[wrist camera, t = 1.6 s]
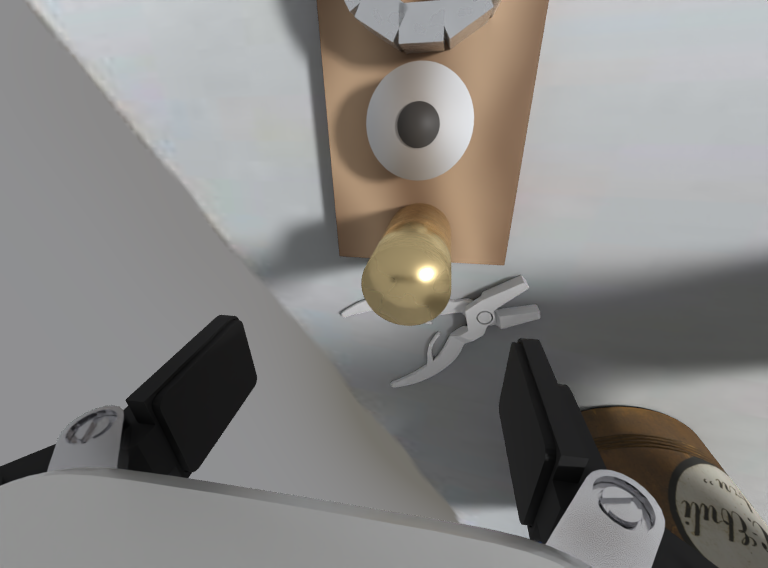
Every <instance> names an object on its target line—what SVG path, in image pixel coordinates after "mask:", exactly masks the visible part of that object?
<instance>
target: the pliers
mask: <svg viewBox="0 0 768 568" xmlns="http://www.w3.org/2000/svg"><path fill="white" fill-rule="evenodd" d="M527 289H529V286H528V284H527V281H526V280H525V279H524V277H523V276H522V275H520V276H518V277H515V278H513V279H511V280H508V281H506V282H504V283H501V284H499V285H497V286H495V287H492V288H490V289H488V290H485V291H483V293H482V295H481V296H480V297H479V298H477V299H476V300H471V299H469V298H465V299H459V300H450V299H449V302H448V304H447V306H446V307H445V309H444V310H443V311H442V312H441V314H440V315H445V314H453V313H460V312H461V313H462V314H463V315H464V316H465V317H466V320H467V326H461V327H460V328H458V329H457V330H455V331H453V332H452V333H451V334H450V336H449V337H448V339H447V341H446V343H445V345H444V347H443V348H442V350H441V351H440V353H439V354H438V355H437V356H436V357H435V358H434V359H433V356H432V352H431V351H432V347H433V345H434V343H435V341H436V340H437V339H438V337H439V336H440V332H437V333H436V334H435V335H434V337H433V338H432V340H431V341H430V343H429V346H428V351H427V359H428V361H427V364H426V365H424V366H423V367H421V368H419V369H418V370H416V371H414V372H412V373H410V374H408V375H406V376H404V377H402V378H400V379H397V380H395V381H392V382H391V384H390V385H391V386H392V388H396V387H403V386H407V385H412V384H415V383H418V382H421V381H423V380H426V379H428V378H430V377H432V376H434V375H436V374H437V373H439V372H440V371H442V370H443V369H445V368H446V367H447V366H449V365H450V364H451V363H452V362H453V361H454V360H455V359H456V358H457V356H458V355H459V354H460V352H461V350H462V348H463V346H464V344H465V343H469V342H472V341H474V340H476V339H478V338H479V337H481V336H483V335H484V333H485V331H486V328H487V326H490V325H497V326H498V327H499V328H500V329H504V328H508V327H512V326H515V325H519V324H522V323H526V322H530V321H533V320H537V319H540V311H539V309H538V306H537V304H533V305H525V306H517V307H509V308H501V309H497V308H499V307H500V306H502V305H504V304H505V303H507V302H508V301H510V300H511V299H513V298H515V297H516V296H518V295H519V294H521V293H523V292H524V291H526V290H527ZM367 311H372V309H371V308H370V306H369V305H368V303H367V302H366V300H365V299H364V300H362V301H359V302H357V303H355V304H354V305H352V306H350V307H348V308H347V309H345V310H344V311H342V313H341V315H342V316H343V317H344V318H345V317H349V316H352V315H355V314H359V313H363V312H367ZM432 321H433V320H431V321H429V322H427V323H424V324H432Z"/></svg>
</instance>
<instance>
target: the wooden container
mask: <svg viewBox="0 0 768 568" xmlns="http://www.w3.org/2000/svg"><path fill="white" fill-rule="evenodd" d="M581 414H582V416H583V418H584V420H585V422H586V425H587V427H588V429H589V431H590V433H591V435H592V438H593V440H594V442H595V444H596V446H597V449H598V451H599V453H600V455H601V457H602V459H603V462H604V464H605V466H606V468H607V470H612V471H615V472H618V473H622V474H624V475H625V476H627V477H629V478H631V479H633V480H635V481H636V482H637V483H638V484H640V485H641V486H642V487H644V488H645V489H646V490H647V491H648V492H649V493H650V494H651V496H652V497H653V498H654V499H655V500H656V502H657V504H658V505H659V507H660V508H661V510H662V513H663V516H664V519H665V528H667V529H668V530H669V531H671V532H672V533H673V534H675V535H676V536H677V537H679V538H680V539H681V540H683V541H684V542H685V543H687V544H688V545H689V546H691V547H692V548H693V549H695V550H696V551H697V552H699V553H700V554H701V555H703V556H704V557H705V558H707V559H708V560H709V561H711V562H712V563H713V564H715V565H716V566H717V567H719V568H768V526H767V525H766V523H765V522H764V521H763V519H762V518H761V517H760V515H759V514H758V513H757V512H756V510H755V509H754V508H753V506H752V505H751V504H750V503H749V501H748V500H747V499H746V498H745V496H744V495H743V494H742V492H741V491H740V490H739V489H738V487H737V486H736V485H735V483H734V482H733V481H732V480H731V478H730V477H729V476H728V475H727V474H726V472H725V471H724V470H723V468H722V467H721V466H720V464H719V463H718V462H717V460H716V459H715V458H714V457H713V455H712V454H711V453H710V451H709V450H708V449H707V447H706V446H705V445H704V444H703V442H702V441H701V440H700V438H699V437H698V436H697V435H696V434H695V433H694V432H693V431H692V430H691V429H690V428H689V427H687V426H686V425H685V424H683V423H681V422H680V421H678V420H676V419H674V418H672V417H670V416H668V415H665V414H662V413H659V412H655V411H652V410H647V409H642V408H635V407H604V408H596V409H590V410H586V411H582V412H581Z"/></svg>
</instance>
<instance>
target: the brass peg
mask: <svg viewBox="0 0 768 568" xmlns="http://www.w3.org/2000/svg"><path fill="white" fill-rule="evenodd" d="M361 286H362V292H363V295H364V298H365V300H366V302H367V303H368V305H369V306H370V308H371V309H372V310H373V311H374V312H375V313H376V314H377V315H379V316H380V317H382V318H383V319H385V320H387V321H389V322H392V323H395V324H398V325H405V326H413V325H420V324H423V323H427V322H429V321H431V320H433V319H434V318H436V317H437V316H438V315H440V314H441V312H442V311H443V310H444V309H445V307H446V306H447V304H448V302H449V299H450V295H451V227H450V224H449V221H448V219H447V218H446V216H445V215H444V214H443V213H442V212H441V211H440V210H439V209H437V208H436V207H434V206H432V205H429V204H424V203H415V204H410V205H407V206H405V207H403V208H402V209H400V210H399V211H398V212H397V213H396V214H395V215H394V217H393V218H392V220H391V222H390V223H389V225H388V227H387V229H386V231H385V232H384V234H383V236H382V238H381V240H380V242H379V243H378V245H377V247H376V249H375V251H374V252H373V254H372V256H371V258H370V260H369V261H368V263H367V265H366V267H365V269H364V272H363V275H362V283H361Z"/></svg>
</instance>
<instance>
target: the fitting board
mask: <svg viewBox="0 0 768 568" xmlns="http://www.w3.org/2000/svg"><path fill="white" fill-rule="evenodd" d="M401 1H402V2H404V3H410V2H423V1H435V0H401ZM548 2H549V0H502V1H501V3H500V4H499V6H498V8H497V10H496V11H495V13H494V15H493V17H491V16H490V18H489V20H488V22H487V24H485V25H484V26H482V27H481V28H480V29H478V30H477V31H475V32H474V33H473V34H471V35H470V36H468V37H467V38H466V39H464V40H463V41H461V42H460V43H459V44H457V45H456V46H454V47H453V48H452V49H450V48H449V46H448V44H447V41H446V39H445V52H427V53H408V54H406V53H405V51H404V50H403V49H402V51H401V52H400V51H399V50H397V49H396V48H394V47H393V46H391V45H389V44H388V43H386V42H385V41H383V40H382V39H380V38H379V37H377V36H376V35H374V34H373V33H371V32H370V31H368V30H367V29H366V28H365V27H364V26H363V25H362V24H361V23H360V22H359V21H358V20H357V19H356V18H355V16H354V15H353V14H352V13H351V12H350V11H349V9H348V7H347V5H346V3H345V1H344V0H317V10H318V21H319V32H320V43H321V54H322V66H323V77H324V88H325V99H326V110H327V121H328V133H329V144H330V155H331V166H332V177H333V188H334V199H335V211H336V222H337V233H338V244H339V255H340V256H344V257H362V258H371V256H372V254H373V252H374V251H375V249H376V247H377V245H378V243H379V242H380V240H381V238H382V236H383V234H384V232H385V231H386V229H387V227H388V225H389V223H390V222H391V220H392V218H393V217H394V215H395V214H396V213H397V212H398V211H399V210H400V209H402V208H403V207H405V206H407V205H410V204H415V203H424V204H429V205H432V206H434V207H436V208H437V209H439V210H440V211H441V212H442V213H443V214H444V215H445V216H446V218H447V219H448V221H449V224H450V227H451V262H453V263H471V264H489V265H504V264H505V258H506V252H507V246H508V240H509V234H510V228H511V222H512V216H513V210H514V204H515V198H516V192H517V186H518V181H519V175H520V169H521V163H522V157H523V151H524V145H525V139H526V133H527V127H528V121H529V115H530V109H531V103H532V97H533V91H534V86H535V80H536V74H537V68H538V62H539V56H540V50H541V44H542V38H543V32H544V26H545V20H546V14H547V8H548Z"/></svg>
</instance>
